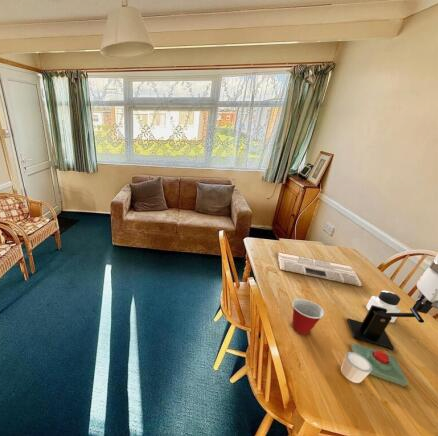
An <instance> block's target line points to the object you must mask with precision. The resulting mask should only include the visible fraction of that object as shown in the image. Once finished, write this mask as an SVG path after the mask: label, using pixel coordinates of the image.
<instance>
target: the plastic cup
mask: <svg viewBox="0 0 438 436" xmlns="http://www.w3.org/2000/svg"><path fill="white" fill-rule="evenodd" d="M291 305H292V310H293V311H292V312H293V313H292V323H291V324H292V325H291V326H292V328H293V330H294V331H295V332H296V333H298V334H301V335H308V334H309V333H310V331H311V330H313V328H314V327H315V326H316V324H317V323H318V322H319V321H320V320H321V319H322V318H324V316H325V310H324V309H323V308H322V307H321V306H320V305H319V304H317V303H315V301H311V300H309V299H304V298H296V299H293V300H292V302H291Z"/></svg>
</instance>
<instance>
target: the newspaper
mask: <svg viewBox="0 0 438 436" xmlns="http://www.w3.org/2000/svg"><path fill="white" fill-rule="evenodd" d="M277 259H278V265H279V268H280V270H282V271H285V272H291V273H296V274H301V275H306V276H310V277H315V278H319V279H324V280H327V281H328V280H330V281H333V282H339V283H343V284H348V285H353V286H357V287H362V281H361V279H360V278H359V277H358V275H357V273H356V271H355V270H354V269H353V268H352V266H349V265H345V264H341V263H340V264H339V263H335V262H328V261H325V260H324V261H323V260H319V259H313V258H308V257H303V256H298V255H292V254H288V253H281V252H277Z"/></svg>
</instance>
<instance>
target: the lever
mask: <svg viewBox="0 0 438 436" xmlns="http://www.w3.org/2000/svg"><path fill="white" fill-rule="evenodd" d="M373 311H374V314H375V313H376V312H377V313H381V314H384V315H388V316H391V317H397V318H415V319H416V321H418V323H421V324H423V323H425V320H424V318H423V317H422V316H421V314H419V313H420V312H417V311H415V310H414V309H413V307H410V308H409V311H410V312H400V313H384V311H383V310H373Z"/></svg>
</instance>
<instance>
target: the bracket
mask: <svg viewBox="0 0 438 436" xmlns="http://www.w3.org/2000/svg"><path fill="white" fill-rule="evenodd" d="M373 310H383V311H384V313H386V312H387V309H385V308H381V307H377V306H373V305H372V306H371V308H370V310H369V311H368V310H367V311H368V312H367V313H366V315H365V316H364V319H363V320H362V321H359V320H356V319H352V318H348V317H347V318H346V322H347V325H348V328H349V329H350V330H349V331H350V332H351V336H352V338H353V339H355V340H358V341H360V342H364V343H366V344H367V343H368V344H371V345H374V346H377V347H380V348H384V349H386V350H390V351H394V350H395V348H394V345H393V344H392V342H391V340H390V338H389V336H388V334H387V332H386V328H387V327H388V325H390V323H391V322H390V320H391V319H392V317H391V316H388V315H384V314H381V313H377V312H376V313H375V314H374V311H373Z"/></svg>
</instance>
